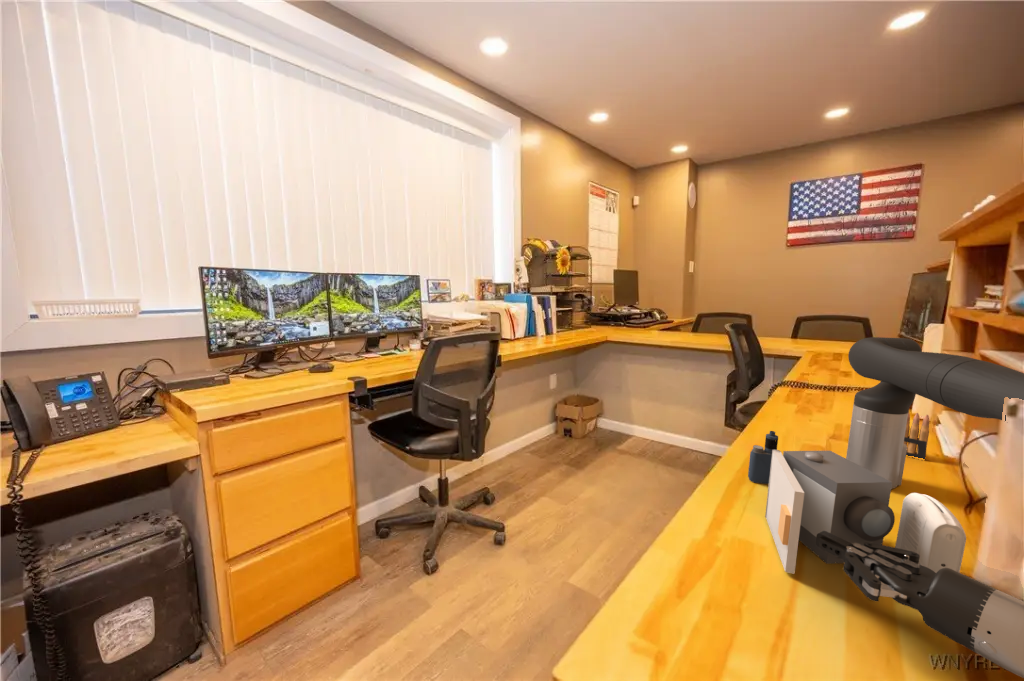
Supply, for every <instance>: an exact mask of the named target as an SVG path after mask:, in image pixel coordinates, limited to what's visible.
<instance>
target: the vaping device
mask: <svg viewBox="0 0 1024 681" xmlns="http://www.w3.org/2000/svg"><path fill="white" fill-rule="evenodd" d="M778 443H779V435H776V431H774V430H769V433H766V434H765V441H764V447H763V446H761V445H757V444H755V445H753V446H752V449H751V451H750V454H749V460H748V461H749V462H748V473H747V477H748V480H749V481H750V482H752V483H754V484H764V485H769V477H770V468H771V459H772V450H778V445H779V444H778Z"/></svg>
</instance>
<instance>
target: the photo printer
mask: <svg viewBox="0 0 1024 681" xmlns="http://www.w3.org/2000/svg"><path fill="white" fill-rule="evenodd" d="M901 506H902V507H901V513H900V517H899V518H900V519H899V525H898V530H897V535H896V541H895V547H894V548H899V549H903V550H908V551H913V552H915V553H917V554H919V555H920V558H919V563H920V564H921V565H922V566H925V567H927V568H929V569H931V570H933V571H934V572H935V573H937V572H938V571H939V570H940V569H942V568H950V569H952V570H954V571H957V572H959V573H961V572H960V571H961V567H962V564H963V557H964V552H965V547H966V542H967V535H966V532H965V530H964V528H963V526H962V524H961V522H960V521H959V520H958V518H957V517H956V516H955V515H954V513H953V512H952V511H951V510H950V509H949V508H948V507H947V506H945V505H944V504H943V503H942V502H940V500H938V499H936V498H935V497H932V496H930V495H927V494H925V493H924V494H923V493H919V492H911V493H909V494H908V495H906V496H905V497H904V498H903V500H902V505H901Z"/></svg>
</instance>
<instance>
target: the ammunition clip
mask: <svg viewBox="0 0 1024 681" xmlns="http://www.w3.org/2000/svg"><path fill="white" fill-rule="evenodd" d="M910 414H911V413H910V411H909V412H908V418H907V424H906V431H905V437H904V444H906V445H907V452H906V455H908V456H914V457H918V458H923V459H925V457H926V456H927V446H928V440H929V435H930V416H929V414H926V415H925V416H924V417H923V419H922V424H921V426H920V414H919V412H916V413H915V415H914V416H913V418H912V419H913V420H912V423H911V422H910V420H911V415H910ZM910 423H911V424H910ZM910 425H911V427H910ZM925 460H926V459H925Z"/></svg>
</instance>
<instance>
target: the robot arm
mask: <svg viewBox="0 0 1024 681" xmlns="http://www.w3.org/2000/svg"><path fill="white" fill-rule="evenodd" d="M847 355H848V362H849V365H850V366H851V368H852V370H854V372H855V373H856V374H858V375H859V376H861V377H863V378H867V379H870V380H873V381H874V380H875V381H880V382H879V383H877V384H876V385H874V386H872V387H869V388H866V389H862V390H860V391H857V392H856V393H855V395H854V399H853V405H852V412H851V419H850V427H849V428H850V429H849V435H848V440H847V441H848V442H847V447H846V448H847V449H846V455H845V456H846V457H845V458H846V459H848V460H850V461H851V462H853V463H855V464H857V465H859V466H861V467H863V468H865V469H867V470H869V471H871V472H873V473H875V474H877V475H879V476H881V477H883V478H885V479H887V480H889V481H891V482H892V487H891V490H892V489H895V488H897V487H898V486H902V481H903V476H904V469H905V464H906V458H907V457H906V452H907V446H908V444H907V445H906V444H904V437H905V431H906V424H907V418H908V412H909V413H910V407H911V405H912V404H913V403H914V401H915V399H916V396H920V397H923V398H925V399H927V400H930V401H932V402H934V403H937V404H938V405H941V406H943V407H946V408H948V409H951V410H953V411H956V412H959V413H962V414H966V415H969V416H972V417H976V418H982V419H995V420H1000V421H1002V412H1003V404H1004V398H1005V397H1008V398H1009V399H1011V398H1019V399H1022V400H1024V372H1022V371H1020V370H1016V369H1013V368H1011V367H1008V366H1003V365H999V364H996V363H993V362H989V361H987V360H982V359H978V358H974V357H971V356H970V357H969V356H964V355H957V354H950V353H942V352H941V353H940V352H933V351H931V352H930V351H922V347H921V346H920V344H919V343H918V342H916V341H915V340H913V339H911V338H905V337H882V336H881V337H880V336H876V337H875V336H874V337H873V336H871V337H865V338H862V339H858V340H856V342H854V343H853V345H852V346H850V349H849V350H848V354H847ZM1005 421H1006V415H1005ZM1005 421H1004V422H1005ZM816 545H817V546H818V547H819V548H821V549H823V550H825V551H827V552H829V553H831V554H833V555H835V556H837V557H839V558H840V559H842V560H843V561H844V563H843V566H842V570H843V572H844V573H845V574H846V575H847V577H849V578H850V579H851V581H852V582H853V583H854V584H855V586H857V588H859V590H860V591H861V592H862V593H863V594H864V596H865V597H866V598H868V599H869V600H870V601H872V602H879V600H880V597H888V598H892V599H893V600H894V601H895V602H896V603H897V604H900V605H902V606H906V607H908V608H912V609H914V610H915V611H918V612H919V614H920V615H921V616H922V619H923V621H924V624H925V625H926V626H927V627H929V628H930V629H932V630H934V631H935V632H937V633H939V634H941V635H943V636H945V638H946V637H947V639H950V640H952V641H953V642H955V643H957V644H959V645H961V646H962V647H964V648H966V649H967V650H970V651H971V652H974V653H975V654H977V655H979V656H981V657H983V658H984V659H986V660H988V661H990V662H991V663H994V664H995V665H996V666H999V667H1000V668H1002V669H1004V670H1005V671H1008V672H1010V673H1012V674H1014V675H1016V676H1018V677H1021V678H1022V679H1024V600H1021V599H1020V598H1017V597H1015V596H1013V595H1011V594H1008V593H1006V592H1004V591H1001V590H999V589H996V588H994V587H992V586H990V585H988V584H985V583H984V582H981V581H979V580H976V579H974V578H972V577H970V576H967V575H966V574H963V573H961V572H960V573H959V572H957V571H954V570H952V569H950V568H942V569H940V570H939V571H938V572H937V573H935V572H934V571H933V570H931V569H929V568H927V567H925V566H922V565H921V564H920V563H919V558H920V555H919V554H917V553H915V552H913V551H908V550H903V549H899V548H895V547H894V546H888V545H885V544H882V545H880V544H875V543H871V542H864V545H861V544H858V543H850V542H848V541H845V540H843V539H841V538H839V537H837V536H835V535H833V534H831V533H829V532H827V531H822V532H820V533H818V534H817V537H816Z"/></svg>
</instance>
